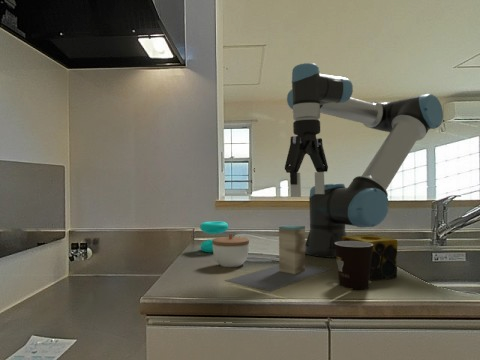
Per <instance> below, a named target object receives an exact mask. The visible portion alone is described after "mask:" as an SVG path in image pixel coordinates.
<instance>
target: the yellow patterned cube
mask: <svg viewBox="0 0 480 360" xmlns="http://www.w3.org/2000/svg"><path fill="white" fill-rule="evenodd" d="M342 241H360V242H368V243H371V244H373V251H372V260H371V269H370V278H369V281H370V282H375V281H376V282H377V281H384V280H392V279H397V277H398V265H397V261H398V258H397V256H398V239H394V238H391V237H386V236H382V235H376V234H371V233H370V234H357V235H347V236H342Z"/></svg>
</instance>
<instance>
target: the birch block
mask: <svg viewBox="0 0 480 360" xmlns="http://www.w3.org/2000/svg"><path fill="white" fill-rule="evenodd" d="M278 236H279V237H278V242H279V243H278V255H279V256H278V265H279V271H281V272H287V273H292V274H297V273H300V272H302V271H305V264H306V253H305V244H306V226H305V225H295V224H294V225H293V224H286V225H281V226H278Z"/></svg>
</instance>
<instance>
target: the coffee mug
mask: <svg viewBox="0 0 480 360" xmlns="http://www.w3.org/2000/svg"><path fill="white" fill-rule="evenodd" d="M335 250H336V257H335V258H336V265H337V272H338V282H339V283H338V284H339V286H340V287H342V288H346V289H350V290H351V291H354V292H355V291H357V292H358V291H367V290H368V289H369V286H370V285H369V284H370V280H369V278H370V269H371V260H372V251H373V244H371V243H368V242H360V241H340V242H335Z"/></svg>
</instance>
